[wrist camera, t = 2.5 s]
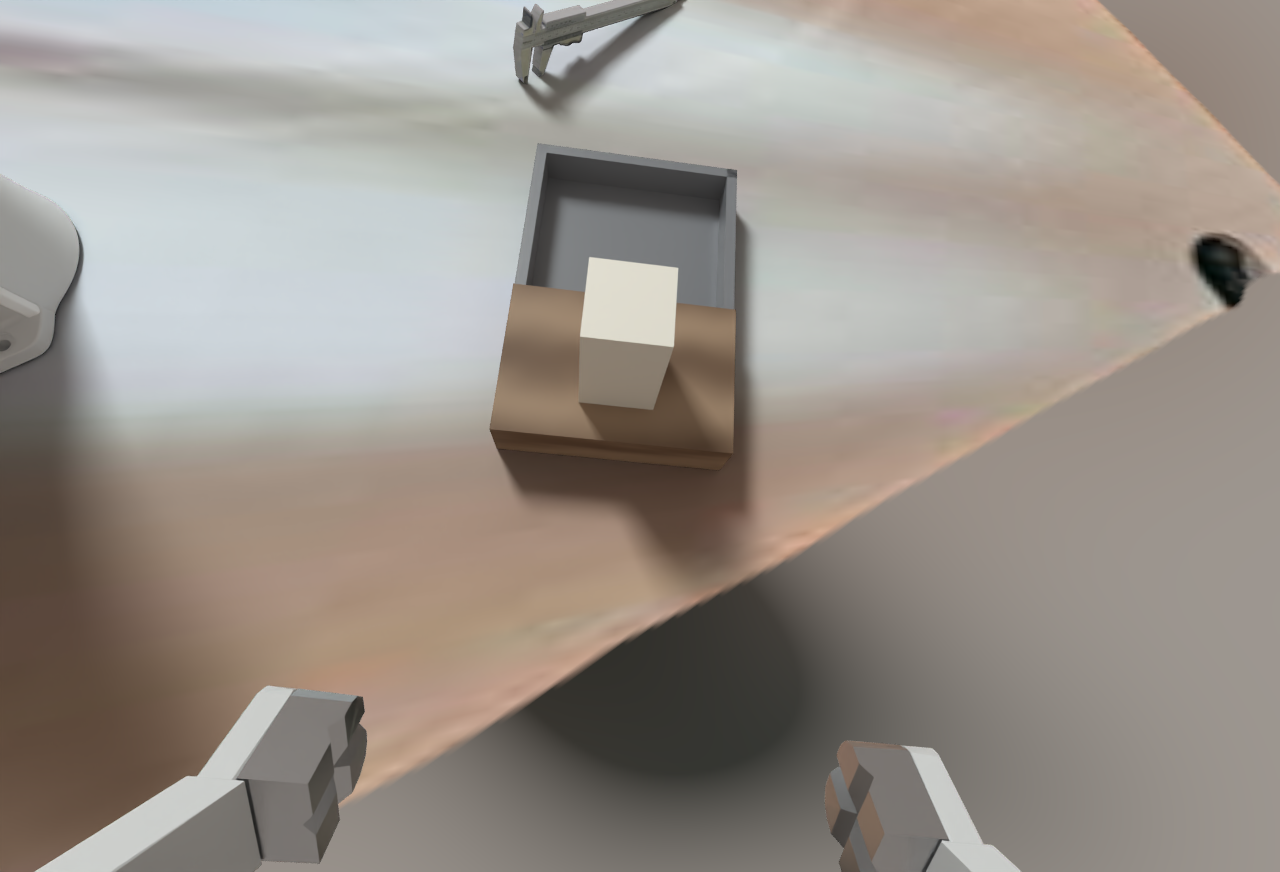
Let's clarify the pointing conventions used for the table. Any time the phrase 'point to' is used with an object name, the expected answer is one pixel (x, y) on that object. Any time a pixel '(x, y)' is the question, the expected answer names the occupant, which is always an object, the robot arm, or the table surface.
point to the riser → (559, 424)
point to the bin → (630, 221)
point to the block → (626, 332)
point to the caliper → (568, 28)
